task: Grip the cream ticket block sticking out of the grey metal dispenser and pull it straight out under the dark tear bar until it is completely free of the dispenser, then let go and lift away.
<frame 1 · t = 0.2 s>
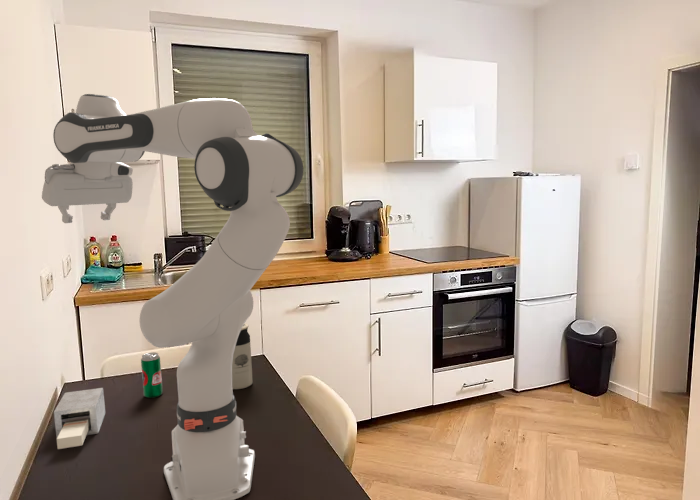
hand: (86, 220, 125), 51 cm above the table, tool tilted 20°, fingers open, 8 cm apart
ticket: (76, 426, 125), point 3 cm above the table, slide at 0.0 cm
travel mug: (239, 385, 155), on the table
soda can: (153, 395, 149), on the table
dispenser: (82, 425, 131), on the table
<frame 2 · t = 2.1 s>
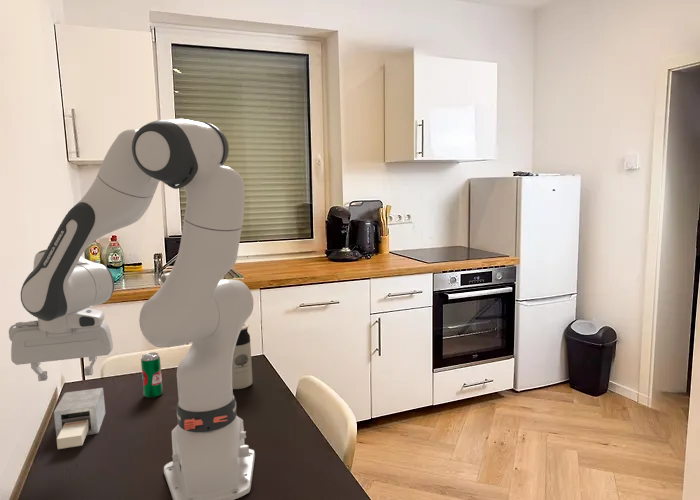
hand: (66, 377, 119), 16 cm above the table, tool pointing down, fingers open, 8 cm apart
nothing on the table moved.
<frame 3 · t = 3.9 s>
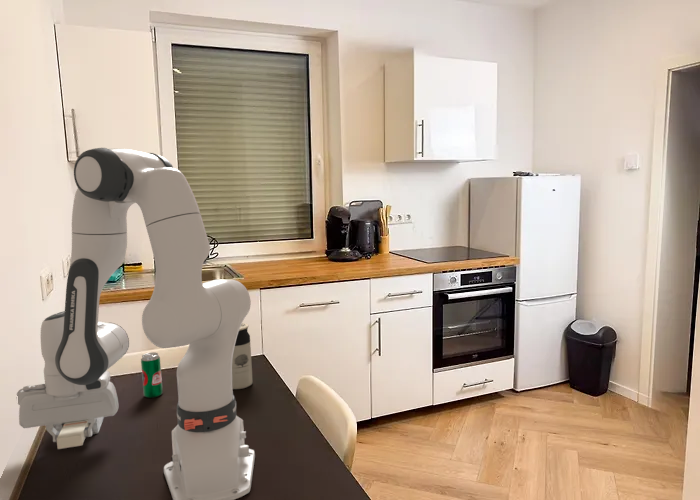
hand: (73, 438, 121), 2 cm above the table, tool pointing down, fingers closed on ticket, 5 cm apart
ticket: (76, 426, 125), point 3 cm above the table, slide at 0.0 cm, touching gripper
everything else where it was.
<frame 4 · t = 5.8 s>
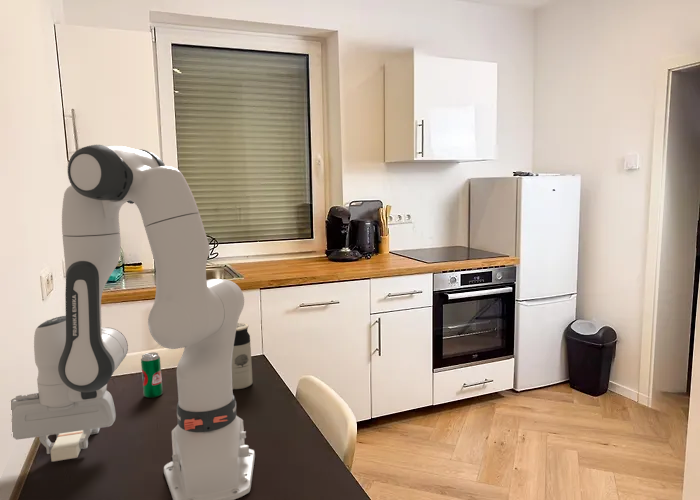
hand: (68, 449, 116), 2 cm above the table, tool pointing down, fingers closed on ticket, 5 cm apart
ticket: (71, 437, 120), point 3 cm above the table, slide at 5.6 cm, touching gripper
everything else where it was.
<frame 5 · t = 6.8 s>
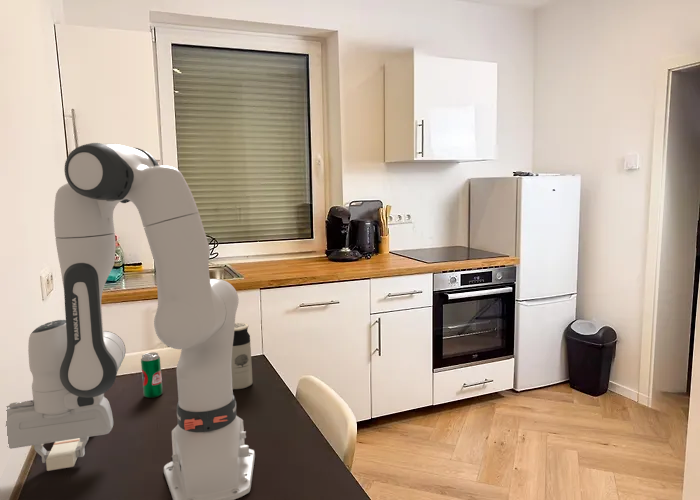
hand: (64, 458, 112), 2 cm above the table, tool pointing down, fingers closed on ticket, 5 cm apart
ticket: (68, 444, 116), point 3 cm above the table, slide at 9.4 cm, touching gripper
everything else where it was.
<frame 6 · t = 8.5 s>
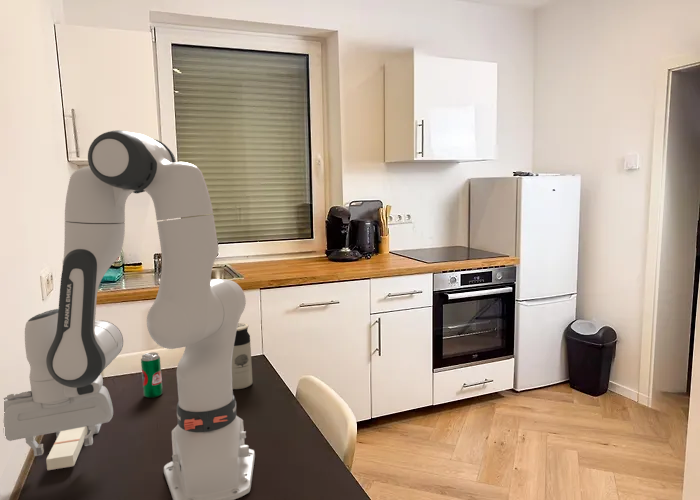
hand: (64, 449, 111), 4 cm above the table, tool pointing down, fingers open, 8 cm apart
ticket: (68, 444, 116), point 3 cm above the table, slide at 9.2 cm
everything else where it was.
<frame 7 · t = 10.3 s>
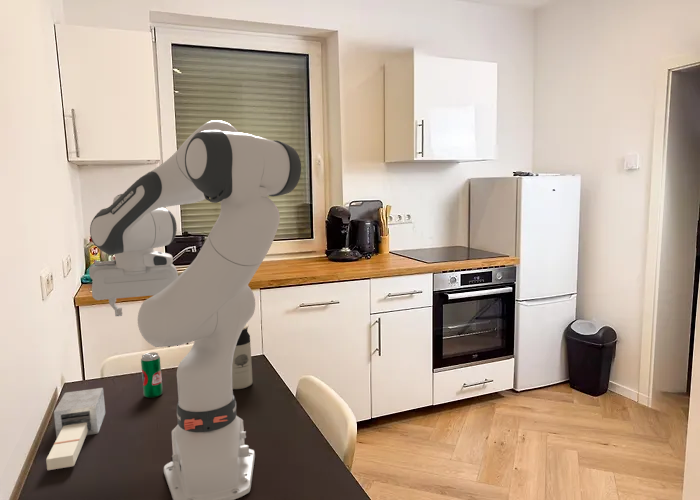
hand: (139, 313, 130), 28 cm above the table, tool pointing down, fingers open, 8 cm apart
nothing on the table moved.
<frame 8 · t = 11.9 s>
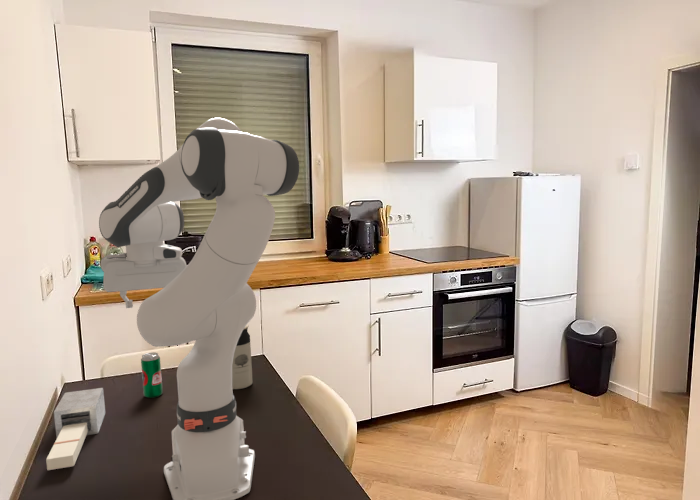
hand: (149, 305, 133), 29 cm above the table, tool pointing down, fingers open, 8 cm apart
nothing on the table moved.
at the end: ticket slide at 9.2 cm; the gripper is holding nothing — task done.
